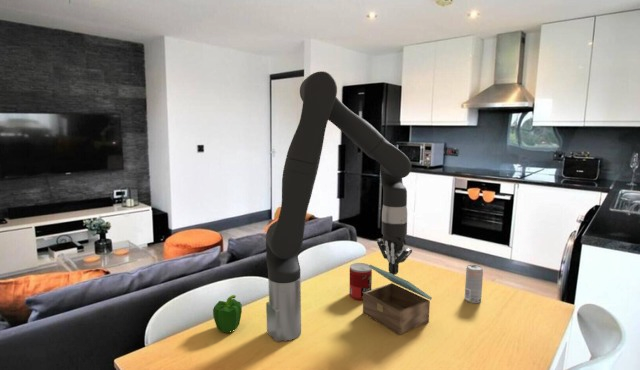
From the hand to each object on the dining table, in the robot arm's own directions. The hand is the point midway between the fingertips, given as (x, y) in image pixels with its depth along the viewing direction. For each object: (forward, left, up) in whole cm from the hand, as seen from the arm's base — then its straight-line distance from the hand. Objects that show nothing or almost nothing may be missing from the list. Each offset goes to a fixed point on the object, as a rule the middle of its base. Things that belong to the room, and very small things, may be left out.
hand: (393, 273), depth 114 cm
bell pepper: (-45, +24, -15) cm, 53 cm away
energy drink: (+32, -7, -15) cm, 36 cm away
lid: (+3, 0, -4) cm, 4 cm away
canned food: (+2, +18, -15) cm, 24 cm away
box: (+1, 0, -15) cm, 15 cm away
